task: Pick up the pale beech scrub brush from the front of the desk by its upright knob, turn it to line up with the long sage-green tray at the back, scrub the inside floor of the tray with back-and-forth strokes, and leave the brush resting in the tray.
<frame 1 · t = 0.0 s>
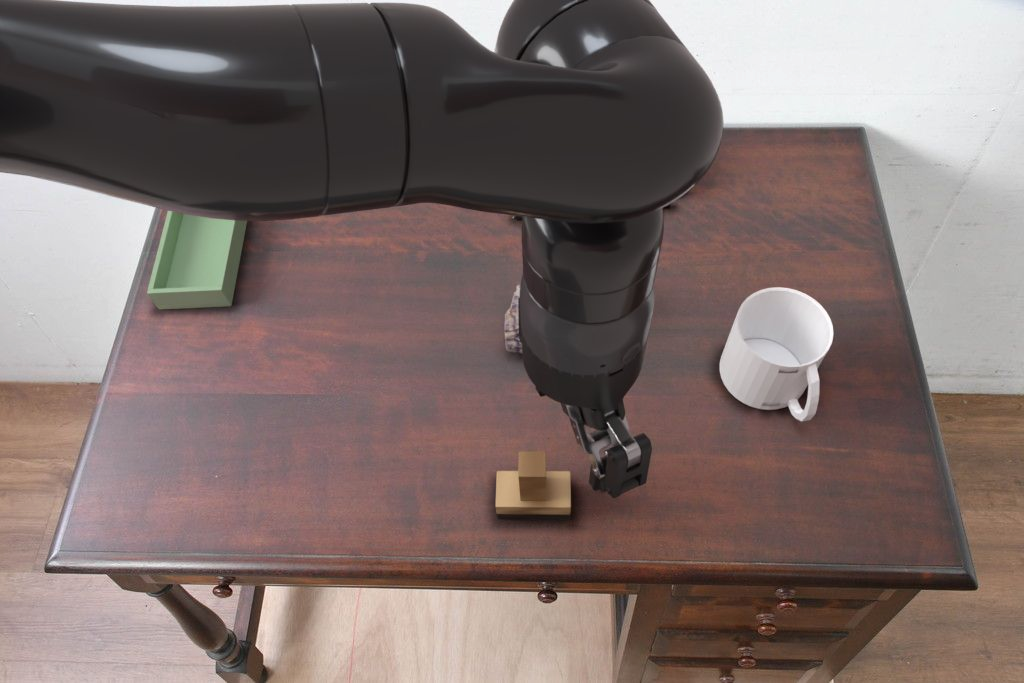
hand: (576, 434, 60), 20 cm above the table, tool pointing down, fingers open, 8 cm apart
tray: (206, 255, 95), on the table
stress ball: (660, 172, 100), on the table
scrub brush: (533, 501, 78), on the table
mineral specimen: (547, 326, 88), on the table
mug: (766, 386, 83), on the table
pen: (591, 214, 97), on the table
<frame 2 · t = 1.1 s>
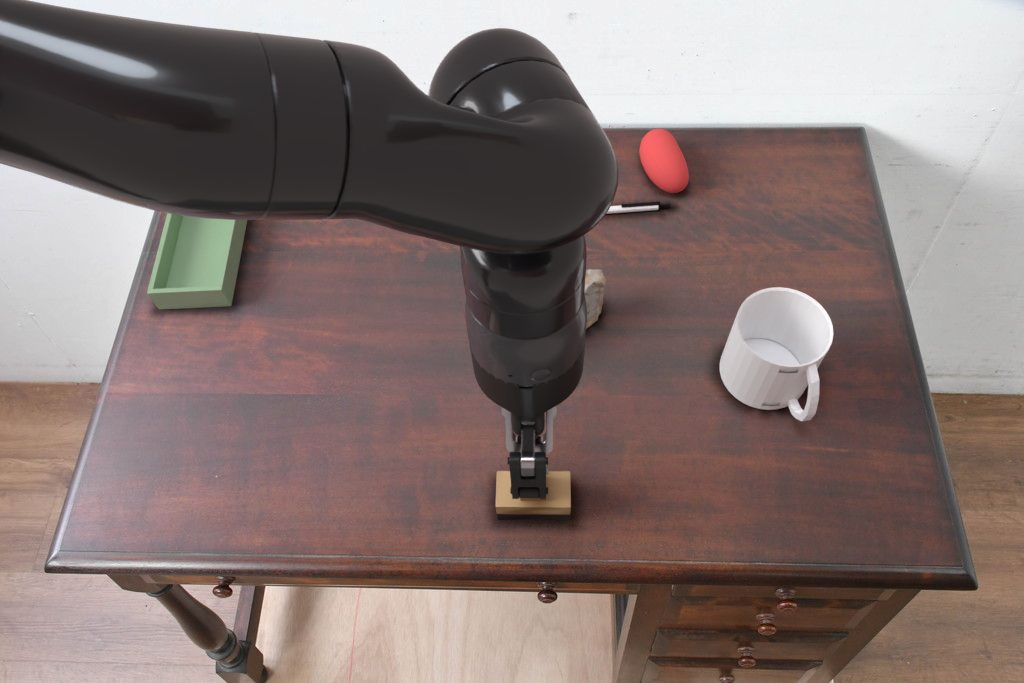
hand: (531, 436, 65), 15 cm above the table, tool pointing down, fingers open, 8 cm apart
nothing on the table moved.
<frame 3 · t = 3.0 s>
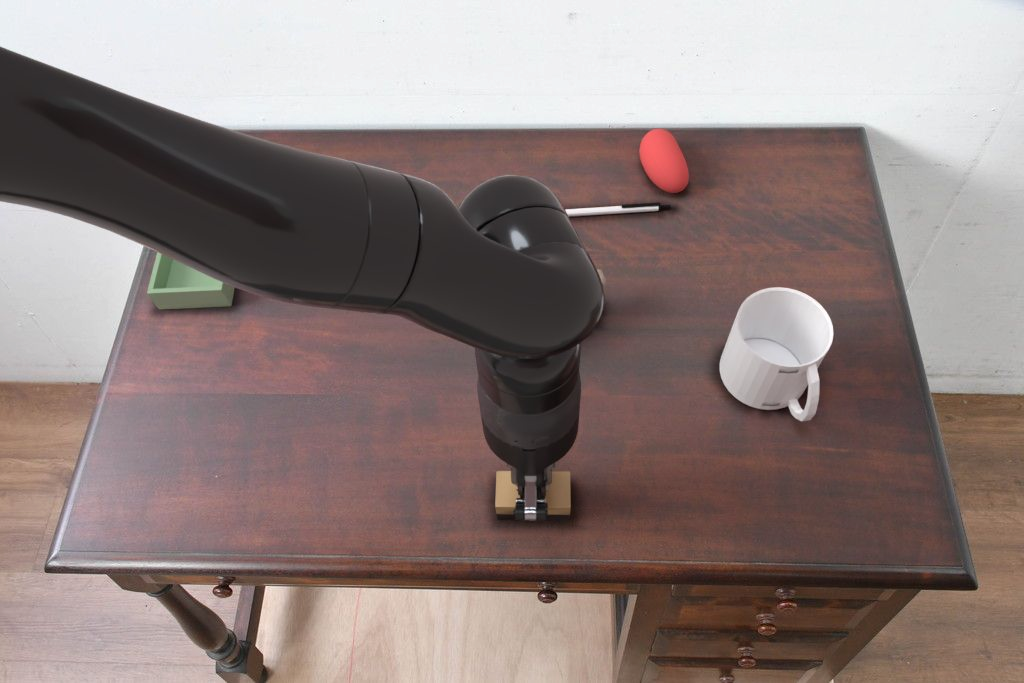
hand: (532, 485, 74), 5 cm above the table, tool pointing down, fingers closed on scrub brush, 2 cm apart
scrub brush: (533, 501, 78), on the table, touching gripper
everything else where it was.
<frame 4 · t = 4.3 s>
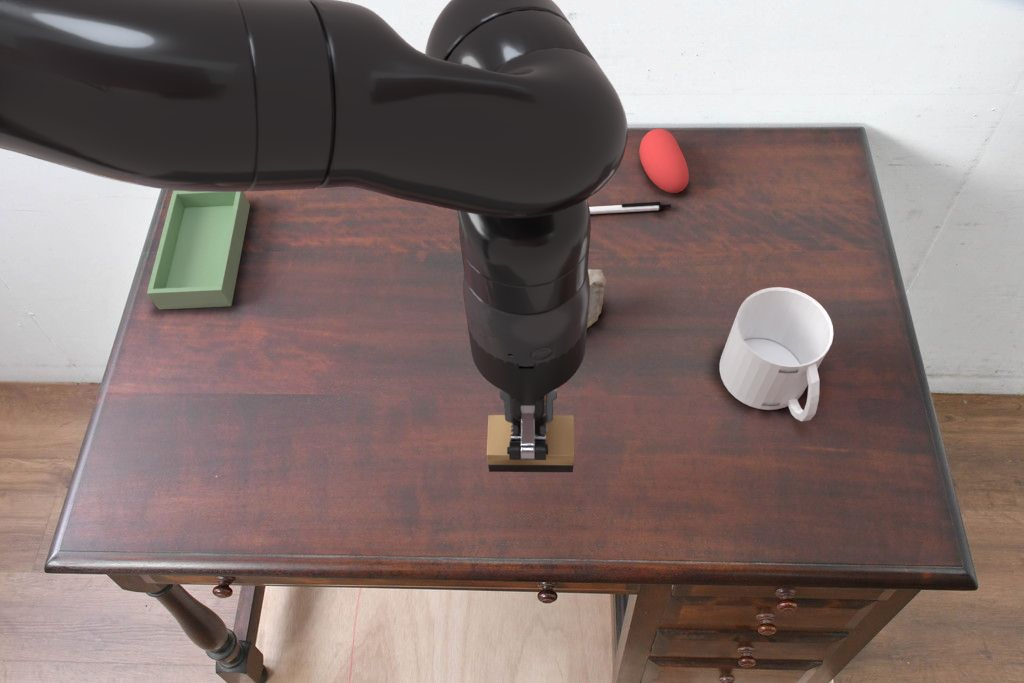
hand: (530, 429, 63), 17 cm above the table, tool pointing down, fingers closed on scrub brush, 2 cm apart
scrub brush: (531, 452, 67), point 12 cm above the table, touching gripper
everything else where it was.
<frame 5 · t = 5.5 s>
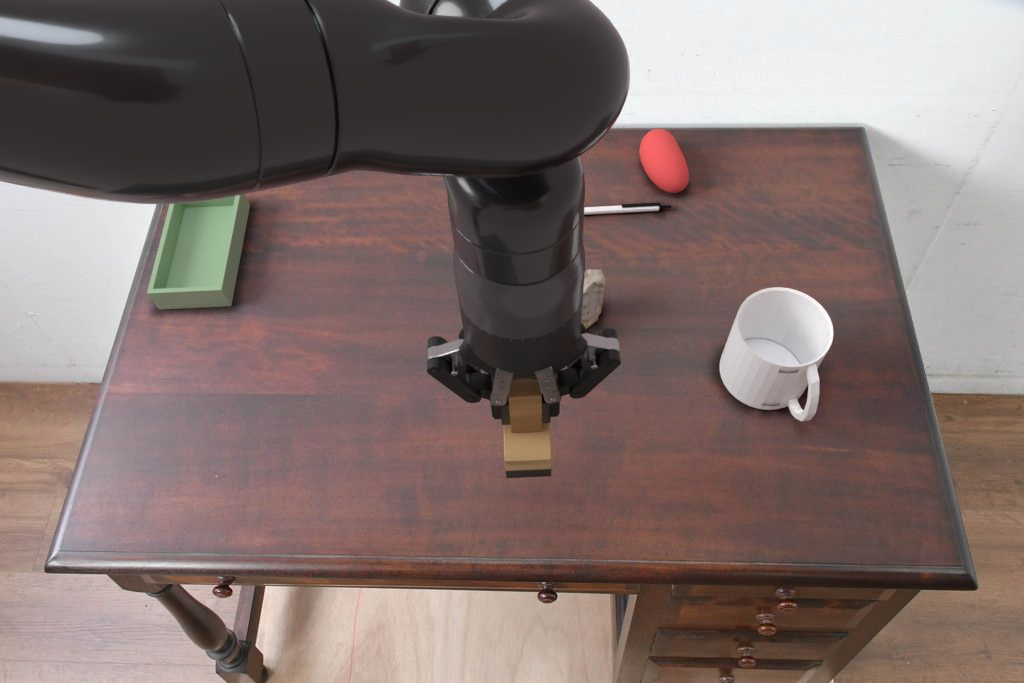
hand: (526, 412, 62), 19 cm above the table, tool pointing down, fingers closed on scrub brush, 2 cm apart
scrub brush: (526, 437, 65), point 14 cm above the table, touching gripper
everything else where it was.
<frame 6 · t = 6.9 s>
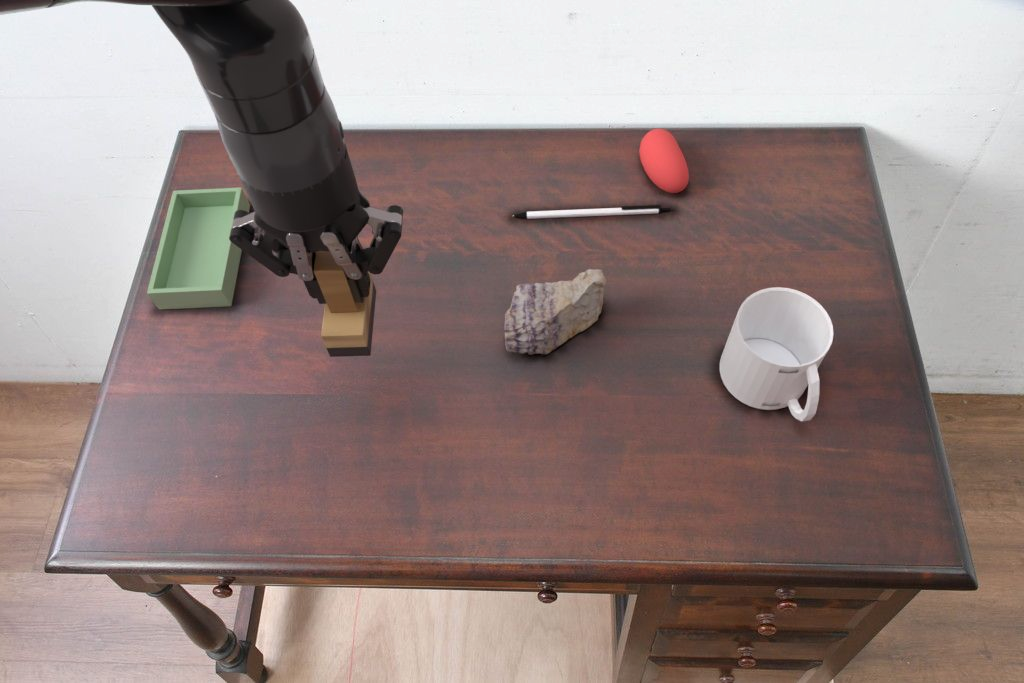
hand: (343, 294, 68), 19 cm above the table, tool pointing down, fingers closed on scrub brush, 2 cm apart
scrub brush: (353, 323, 72), point 14 cm above the table, touching gripper
everything else where it was.
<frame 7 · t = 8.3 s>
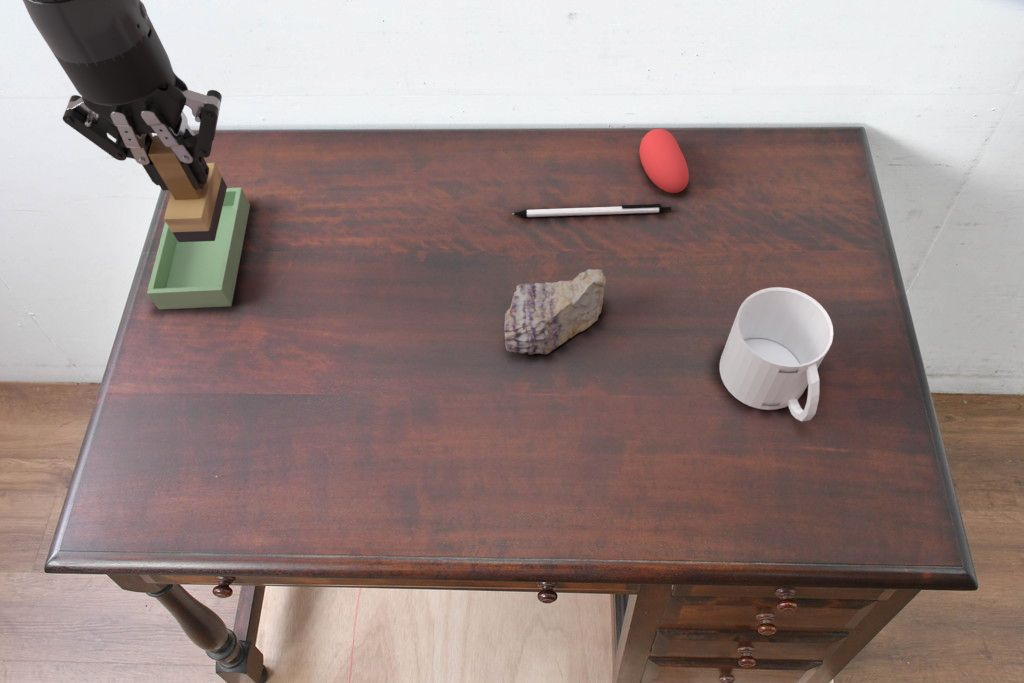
hand: (185, 182, 75), 19 cm above the table, tool pointing down, fingers closed on scrub brush, 2 cm apart
scrub brush: (203, 214, 79), point 15 cm above the table, touching gripper
everything else where it was.
when the fingers open (5 cm above the table, at t = 14.2 s): scrub brush stays where it is, resting on tray.
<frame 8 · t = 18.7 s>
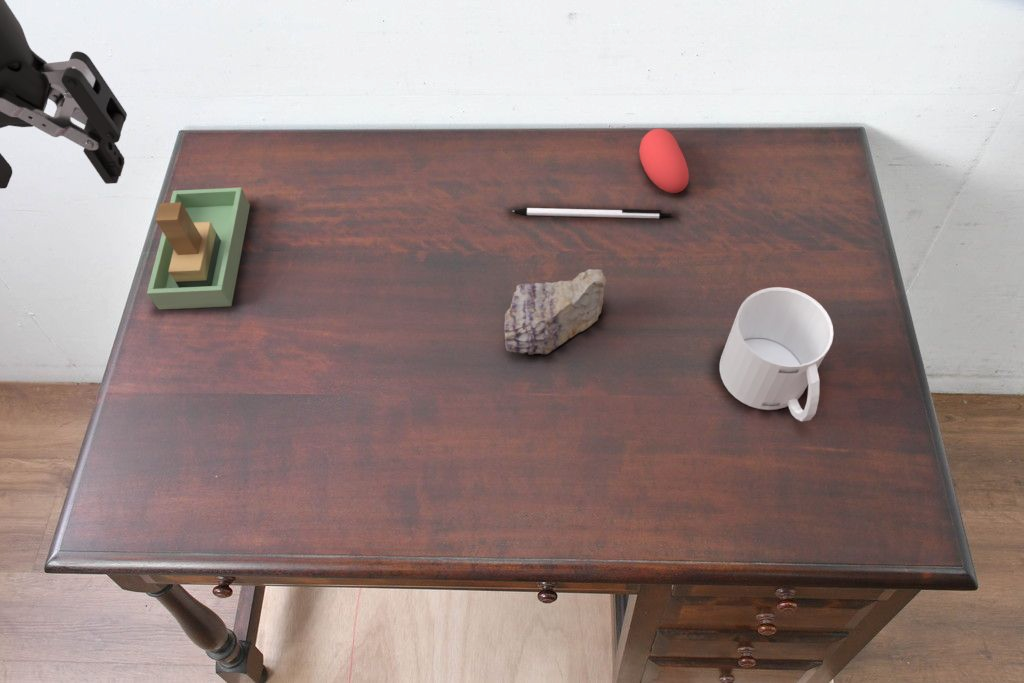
hand: (60, 178, 61), 30 cm above the table, tool pointing down, fingers open, 8 cm apart
scrub brush: (201, 264, 93), point 1 cm above the table, touching tray
everything else where it was.
at the end: scrub brush inside the target area in the tray (1.1 cm from its centre), point 0.8 cm above the tray's base; scrub brush tilted 0°; the gripper is holding nothing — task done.
